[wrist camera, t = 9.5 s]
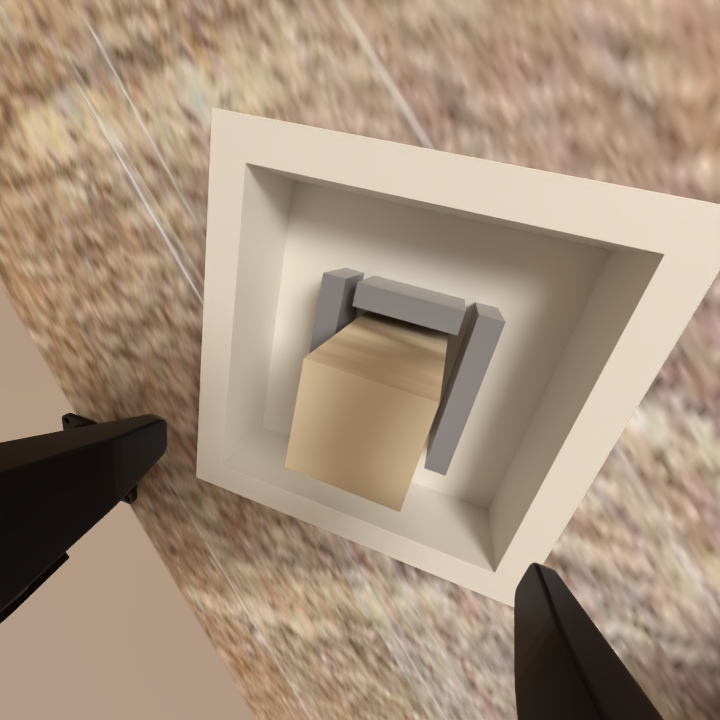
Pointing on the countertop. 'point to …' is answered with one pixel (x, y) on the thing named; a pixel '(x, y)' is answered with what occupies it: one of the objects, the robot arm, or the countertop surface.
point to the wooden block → (368, 407)
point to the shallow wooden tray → (439, 328)
